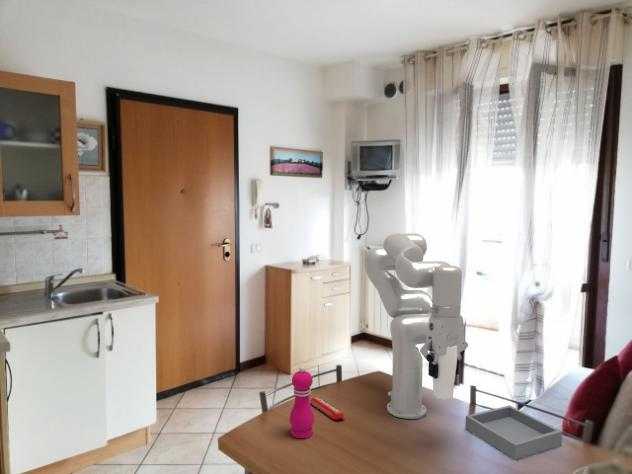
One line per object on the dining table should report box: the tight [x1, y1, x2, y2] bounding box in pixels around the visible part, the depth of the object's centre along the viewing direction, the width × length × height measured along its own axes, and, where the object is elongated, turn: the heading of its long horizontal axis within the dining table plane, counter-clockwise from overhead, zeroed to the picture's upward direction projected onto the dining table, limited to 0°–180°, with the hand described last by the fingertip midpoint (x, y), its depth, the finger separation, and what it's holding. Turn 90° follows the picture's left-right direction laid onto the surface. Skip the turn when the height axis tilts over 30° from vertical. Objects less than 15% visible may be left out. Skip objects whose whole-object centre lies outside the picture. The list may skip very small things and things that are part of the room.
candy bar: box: [309, 396, 345, 421], centre depth 143 cm, size 16×4×3 cm, turn 33°
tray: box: [464, 404, 563, 461], centre depth 128 cm, size 18×18×4 cm
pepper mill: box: [289, 366, 315, 439], centre depth 128 cm, size 7×7×20 cm
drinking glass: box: [432, 346, 458, 401], centre depth 121 cm, size 7×7×15 cm
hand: (443, 374), depth 121 cm, fingers closed on drinking glass, 6 cm apart
